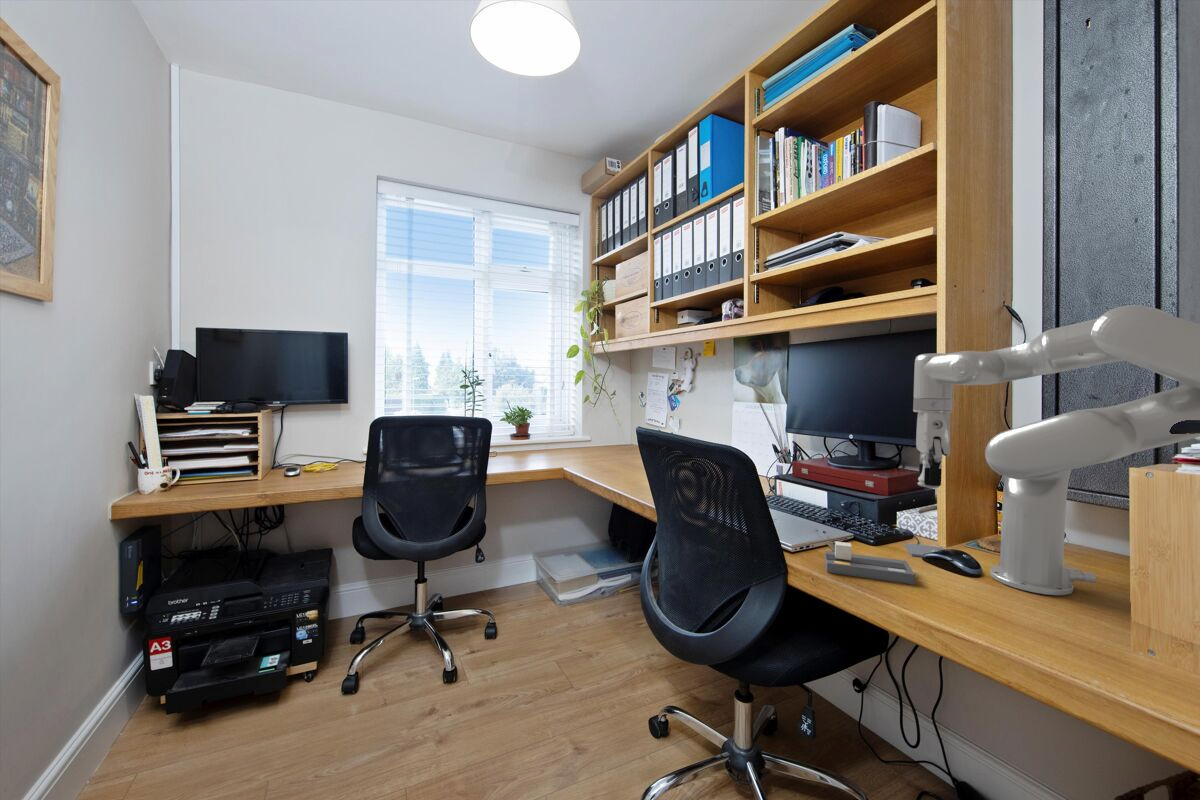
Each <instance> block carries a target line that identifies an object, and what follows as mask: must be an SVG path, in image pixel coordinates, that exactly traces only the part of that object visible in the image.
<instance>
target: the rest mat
mask: <svg viewBox="0 0 1200 800" xmlns="http://www.w3.org/2000/svg"><path fill="white" fill-rule="evenodd" d="M904 547H905V548H906V549H907V551H908V553H909V554H910V556H912V557H916V558H917V557H918V558H923V557H922V556H923V554H924V553H927V552H930V551H932V550H936V549H945V548H944V547H943V546H935V545H926V544H917V543H909V542H904Z"/></svg>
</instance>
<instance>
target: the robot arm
mask: <svg viewBox="0 0 1200 800" xmlns="http://www.w3.org/2000/svg"><path fill="white" fill-rule="evenodd" d="M1123 361H1124V362H1127V363H1130V364H1132V365H1135V366H1137V367H1140V368H1143V369H1146V370H1148V371H1151V372H1153V373H1155V374H1158V375H1161V376H1163V377H1166V378H1169V379H1171V380H1174V381H1176V382H1179V383H1182V385H1180V386H1177V387H1174V388H1172V389H1167V390H1164V391H1159V392H1157V393H1152V394H1150V395H1146V396H1144V397H1140V398H1137V399H1134V400H1131V401H1126V402H1122V403H1120V404H1115V405H1111V406H1105V407H1094V408H1093V407H1092V408H1085V409H1077V410H1073V411H1069V412H1065V413H1061V414H1057V415H1054V416H1051V417H1049V418H1048V417H1047V418H1044V419H1041V420H1038V421H1034V422H1032V423H1028V424H1024V425H1020V426H1017V427H1015V428H1010V429H1007V430H1004V431H1001V432H1000V433H998V434H996V435H994V436H993V437H992V438H991V439H990V440H989V441H988V443H987V445H986V447H985V450H984V455H985V456H984V457H985V461H986V463H987V465H988V466H989V467H990V468H991V469H992V470H993V471H994V472H995V473H997V474H998V475H1000V476H1003V477H1004V483H1003V490H1002V507H1001V528H1000V529H1001V531H1000V533H1001V534H1000V550H999V551H1000V554H999V564H997V565H993V566H991V567H990V568H989V574H990V577H992V578H993V579H994V580H996V581H997V582H1000V583H1001V584H1004V585H1006V586H1010V587H1012V588H1015V589H1018V590H1022V591H1026V592H1029V593H1035V594H1041V595H1047V596H1067V595H1068V596H1069V595H1070V594H1072V593H1073V592H1074V585H1073V583H1074V582H1075V581H1077V582H1082V583H1089V584H1096V582H1097V577H1096V574H1095V573H1094V572H1085V571H1080V569H1079V568H1073V567H1068V566H1066V565H1065V564H1064V557H1065V555H1064V554H1065V553H1064V551H1065V550H1064V549H1065V535H1066V534H1065V533H1066V530H1065V529H1066V514H1067V500H1068V499H1067V498H1068V497H1067V496H1068V488H1069V481H1070V476H1071V472H1072V471H1073V470H1076V469H1081V468H1085V467H1091V466H1095V465H1098V464H1102V463H1108V462H1112V461H1116V460H1119V459H1122V458H1124V457H1128V456H1129V455H1132V454H1136V453H1139V452H1143V451H1146V450H1150V449H1157V448H1160V447H1164V446H1169V445H1173V444H1177V443H1180V442H1184V441H1188V440H1189V441H1190V440H1192V439H1193V440H1194V439H1197V438H1200V434H1189V433H1187V434H1171V433H1170V432H1169V431H1170V429H1171V427H1172V426H1173V425H1174V424H1176V423H1178V422H1181V421H1185V420H1200V323H1196V322H1193V321H1189V320H1186V319H1183V318H1180V317H1177V316H1173V315H1171V314H1169V313H1168V312H1166V311H1164V310H1162V309H1159V308H1155V307H1150V306H1148V305H1146V306H1145V305H1138V304H1132V305H1131V304H1128V305H1122V306H1118V307H1115V308H1112V309H1110V310H1108V311H1105V312H1104V313H1103V314H1101V315H1100V316H1099V317H1096V318H1094V319H1089V320H1085V321H1080V322H1077V323H1073V324H1068V325H1063V326H1059V327H1055V328H1050V329H1048V330H1045V331H1043V332H1041V333H1040V334H1039V335H1038V336H1036V337H1035V338H1033V339H1032V340H1029V341H1027V342H1024V343H1019V344H1017V345H1012V346H1008V347H1004V348H999V349H994V350H990V351H982V350H981V351H980V350H978V351H977V350H962V351H955V352H950V353H943V352H942V353H937V352H934V353H922V354H918V355H917V356H915V359H914V372H913V373H914V374H913V403H912V404H913V405H912V411H913V412H914V413H917V418H916V432H915V433H916V435H915V436H916V437H915V440H916V441H915V445H916V447H915V448H916V449H917V450H918V452H919V465H918V466H919V467H918V469H919V470H918V478H919V477H920V475H921V473H922V470H923V463H922V462H923V458H922V457H921V456H922V455H923V453H924V454H925V455H926V467H927V468H925V473H924V484H925V485H931V486H939V487H940V486H941V485H942V467H943V465H942V462H943V461H942V459H943V456H945V457H948V456H950V455H951V427H950V426H951V425H950V416H949V414H952V413H953V391H954V389H953V388H954V385H959V386H987V385H995V384H996V385H997V384H1001V383H1007V382H1012V381H1018V380H1024V379H1029V378H1033V377H1034V378H1035V377H1038V376H1044V375H1054V374H1057V373H1062V372H1069V371H1073V370H1079V369H1083V368H1089V367H1095V366H1101V365H1106V364H1112V363H1120V362H1123ZM929 453H931V454H932V453H934V455H930V454H929ZM930 457H931V459H930Z"/></svg>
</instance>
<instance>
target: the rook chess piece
mask: <svg viewBox="0 0 1200 800" xmlns="http://www.w3.org/2000/svg"><path fill="white" fill-rule="evenodd" d="M929 454H930V455H934V453H932V454H931V453H929ZM921 457H922V458H923V462H922V463H923V470H922V473H921V475H920V477H919V476H918V478H917V480H918V482H917V486H919V487H922V488H923V487H924V488H929V489H930V488H931V489H938V488H939V487H940V486H931V485H925V484H924V473H925V468H927V467H926V455H925V454H924V453H923V455H922V456H921ZM930 459H931V457H930Z"/></svg>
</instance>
